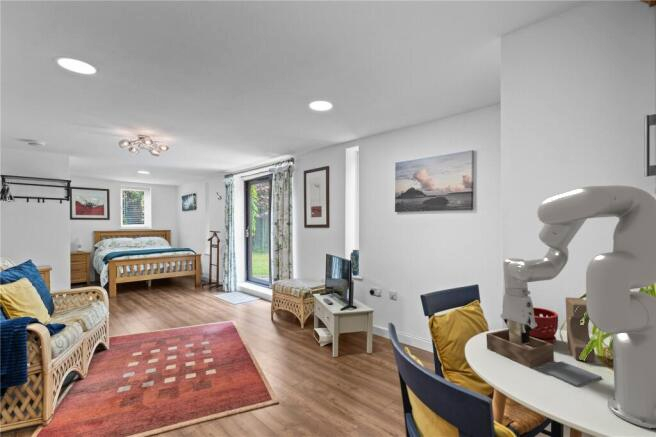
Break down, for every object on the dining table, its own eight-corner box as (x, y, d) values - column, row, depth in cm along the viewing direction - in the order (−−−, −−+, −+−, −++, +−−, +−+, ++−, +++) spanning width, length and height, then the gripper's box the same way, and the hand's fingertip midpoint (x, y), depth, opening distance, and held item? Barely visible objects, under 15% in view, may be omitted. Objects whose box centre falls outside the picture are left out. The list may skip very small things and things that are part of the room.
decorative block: (595, 363, 109) (592, 305, 110) (575, 360, 112) (572, 304, 112) (585, 350, 119) (583, 298, 119) (567, 348, 122) (565, 297, 122)
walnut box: (554, 361, 112) (553, 344, 112) (530, 368, 108) (529, 350, 108) (509, 343, 129) (508, 328, 129) (487, 348, 125) (486, 333, 125)
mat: (601, 378, 99) (601, 376, 99) (576, 386, 95) (576, 384, 95) (561, 362, 110) (561, 361, 110) (538, 369, 106) (538, 368, 106)
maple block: (529, 343, 117) (527, 321, 117) (520, 345, 115) (519, 323, 115) (518, 339, 121) (516, 318, 121) (509, 341, 119) (508, 320, 119)
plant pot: (514, 338, 134) (513, 310, 134) (532, 332, 140) (531, 305, 140) (548, 349, 122) (546, 318, 122) (565, 341, 128) (564, 312, 128)
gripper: (545, 294, 112) (548, 346, 111) (503, 286, 128) (506, 332, 127) (530, 297, 109) (533, 350, 109) (490, 288, 125) (492, 335, 124)
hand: (519, 339), depth 118 cm, fingers closed on maple block, 4 cm apart
